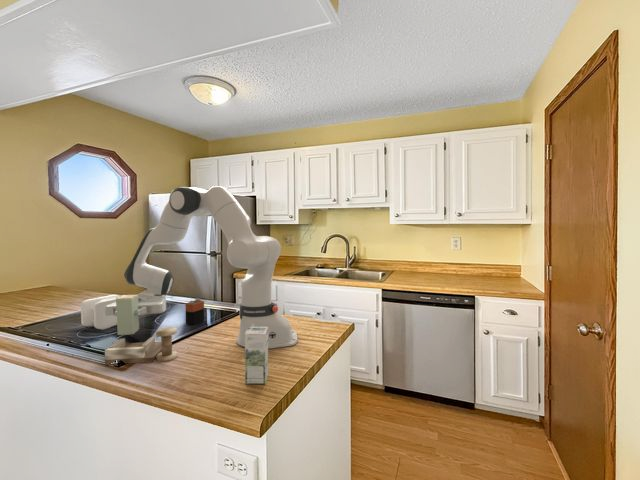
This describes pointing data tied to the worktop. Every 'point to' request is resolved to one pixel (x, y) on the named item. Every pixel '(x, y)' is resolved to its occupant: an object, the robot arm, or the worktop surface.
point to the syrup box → (256, 355)
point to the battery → (194, 312)
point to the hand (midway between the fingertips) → (126, 313)
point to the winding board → (133, 351)
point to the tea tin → (127, 314)
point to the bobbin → (166, 344)
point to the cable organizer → (98, 312)
